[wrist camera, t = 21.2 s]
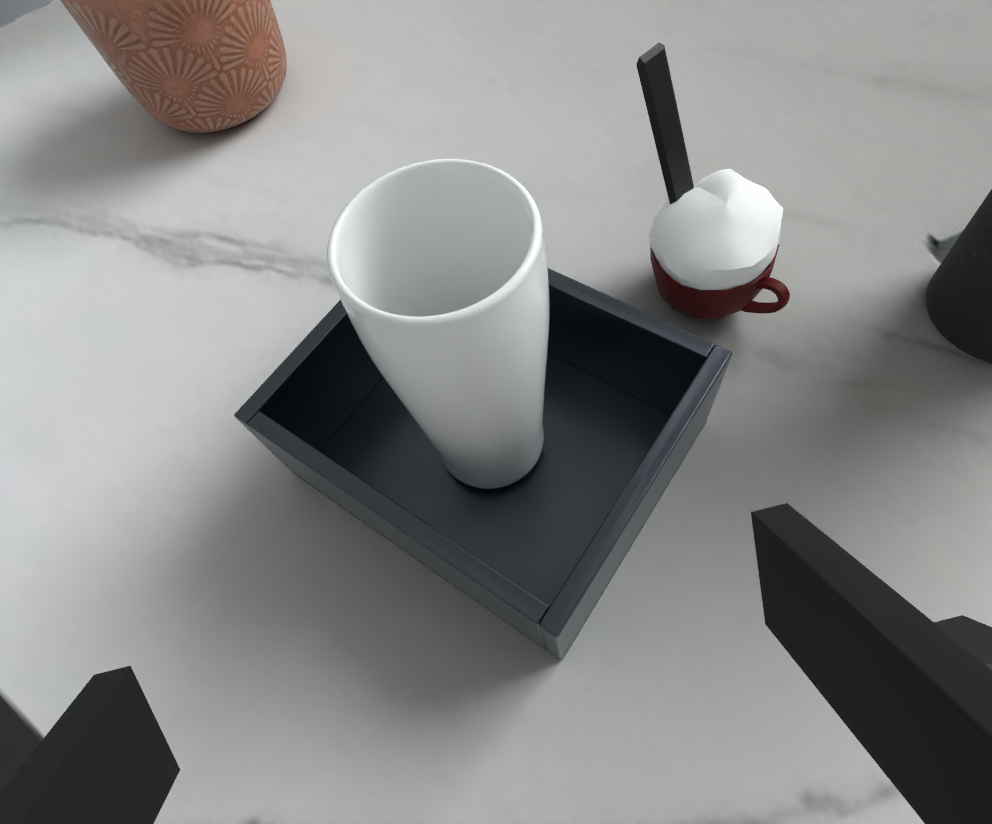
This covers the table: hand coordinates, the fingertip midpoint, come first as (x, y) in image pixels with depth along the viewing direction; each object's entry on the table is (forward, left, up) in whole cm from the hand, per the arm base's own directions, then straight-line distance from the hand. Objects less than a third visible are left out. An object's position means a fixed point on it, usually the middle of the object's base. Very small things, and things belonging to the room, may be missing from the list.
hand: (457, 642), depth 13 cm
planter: (-43, +23, -16) cm, 51 cm away
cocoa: (-4, +24, -16) cm, 29 cm away
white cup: (-8, +9, -16) cm, 20 cm away
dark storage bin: (-8, +9, -16) cm, 20 cm away
